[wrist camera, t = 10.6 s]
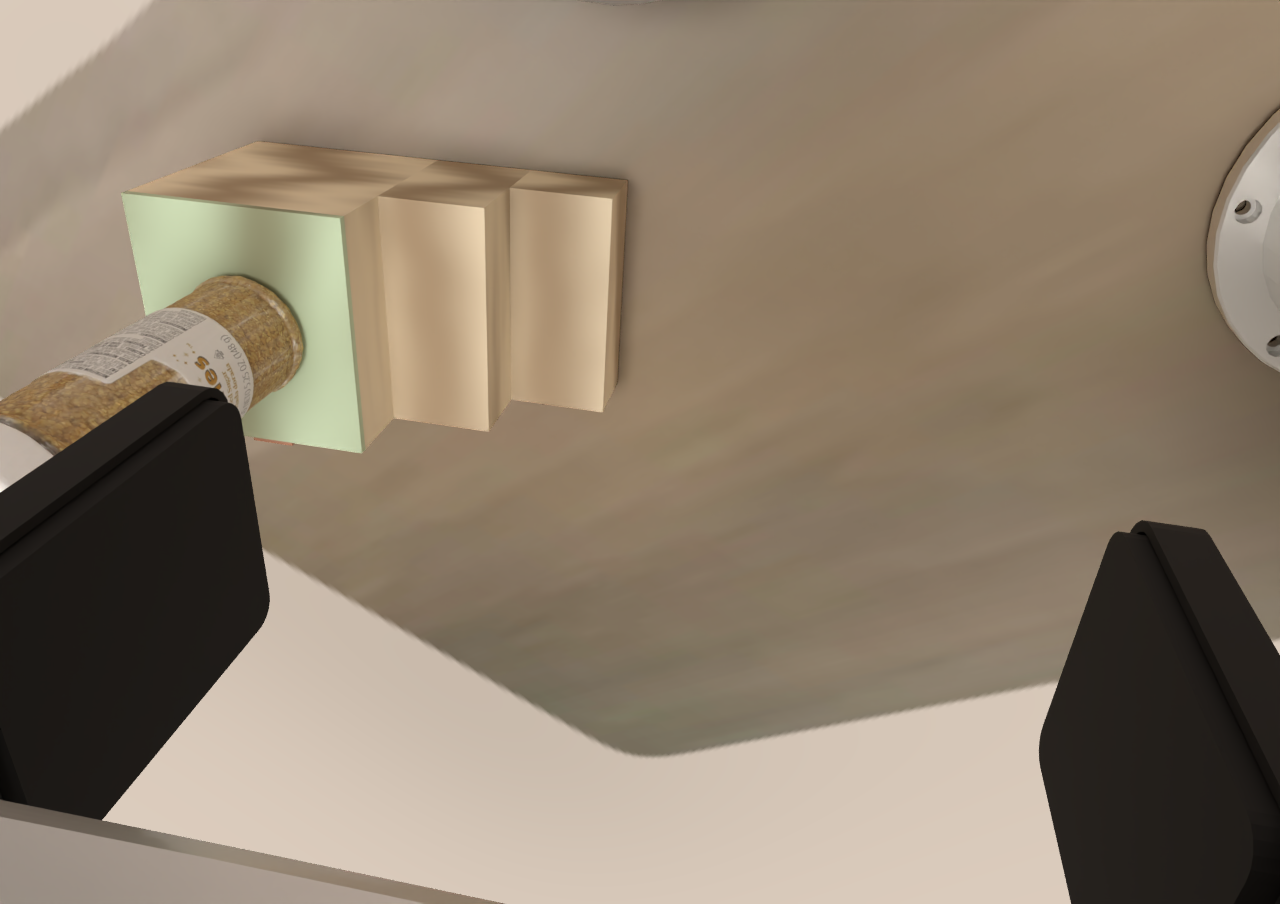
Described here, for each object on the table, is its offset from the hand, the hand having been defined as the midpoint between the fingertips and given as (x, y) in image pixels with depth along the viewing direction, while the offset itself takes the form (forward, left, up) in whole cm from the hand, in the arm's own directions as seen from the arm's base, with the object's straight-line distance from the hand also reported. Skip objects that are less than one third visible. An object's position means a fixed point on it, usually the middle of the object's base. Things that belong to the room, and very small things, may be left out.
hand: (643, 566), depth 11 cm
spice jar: (+18, +8, -22) cm, 29 cm away
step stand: (+14, +8, -30) cm, 34 cm away
